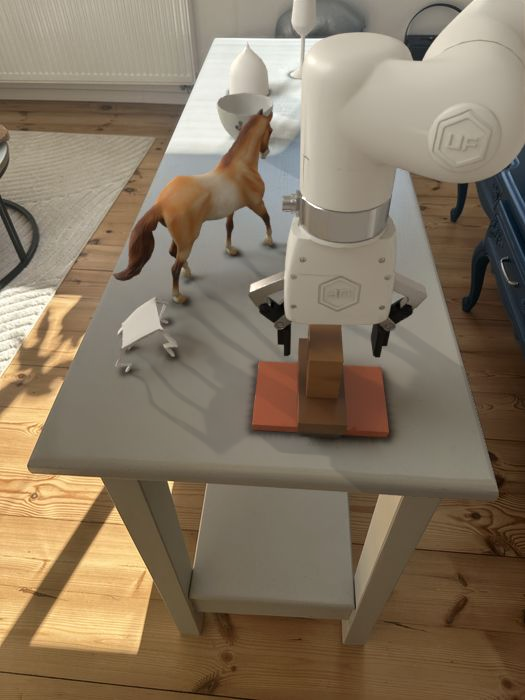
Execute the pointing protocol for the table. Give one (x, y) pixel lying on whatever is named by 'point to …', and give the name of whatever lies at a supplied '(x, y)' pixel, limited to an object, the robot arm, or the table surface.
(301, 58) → the champagne flute
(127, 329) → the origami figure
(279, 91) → the table surface
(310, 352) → the brown stepped block
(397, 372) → the table surface
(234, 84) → the teardrop
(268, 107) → the teacup
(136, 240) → the horse figurine
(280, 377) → the tile
